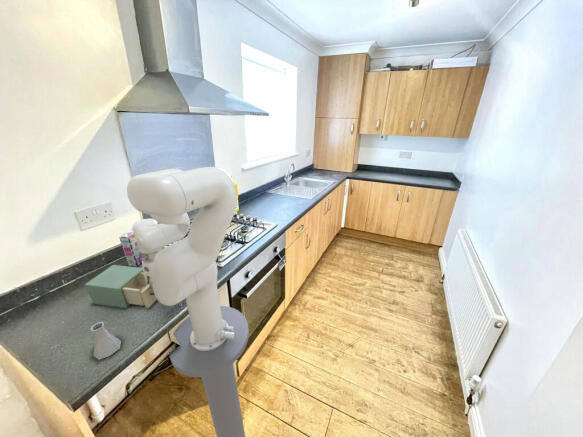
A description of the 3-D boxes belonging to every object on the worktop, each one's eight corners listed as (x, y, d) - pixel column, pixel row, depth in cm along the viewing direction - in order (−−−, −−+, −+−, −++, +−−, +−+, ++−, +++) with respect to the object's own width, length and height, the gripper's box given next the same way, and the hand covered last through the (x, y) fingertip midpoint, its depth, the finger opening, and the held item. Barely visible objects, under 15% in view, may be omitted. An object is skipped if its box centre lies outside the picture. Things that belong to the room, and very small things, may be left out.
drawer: (182, 289, 97) (178, 274, 94) (164, 310, 87) (159, 294, 84) (139, 284, 100) (134, 269, 97) (117, 304, 90) (110, 288, 87)
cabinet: (149, 286, 100) (143, 268, 96) (126, 308, 89) (118, 288, 85) (120, 282, 102) (113, 264, 98) (93, 303, 91) (84, 284, 87)
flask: (124, 348, 74) (114, 326, 70) (95, 364, 69) (83, 341, 65) (119, 334, 78) (109, 312, 74) (92, 348, 74) (80, 326, 70)
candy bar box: (138, 267, 113) (128, 237, 106) (128, 266, 113) (117, 237, 106) (152, 254, 123) (144, 226, 116) (143, 254, 123) (134, 226, 116)
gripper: (147, 265, 76) (161, 307, 84) (175, 242, 89) (184, 280, 97) (127, 263, 77) (142, 305, 85) (158, 241, 91) (168, 278, 98)
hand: (165, 292), depth 91 cm, fingers closed
